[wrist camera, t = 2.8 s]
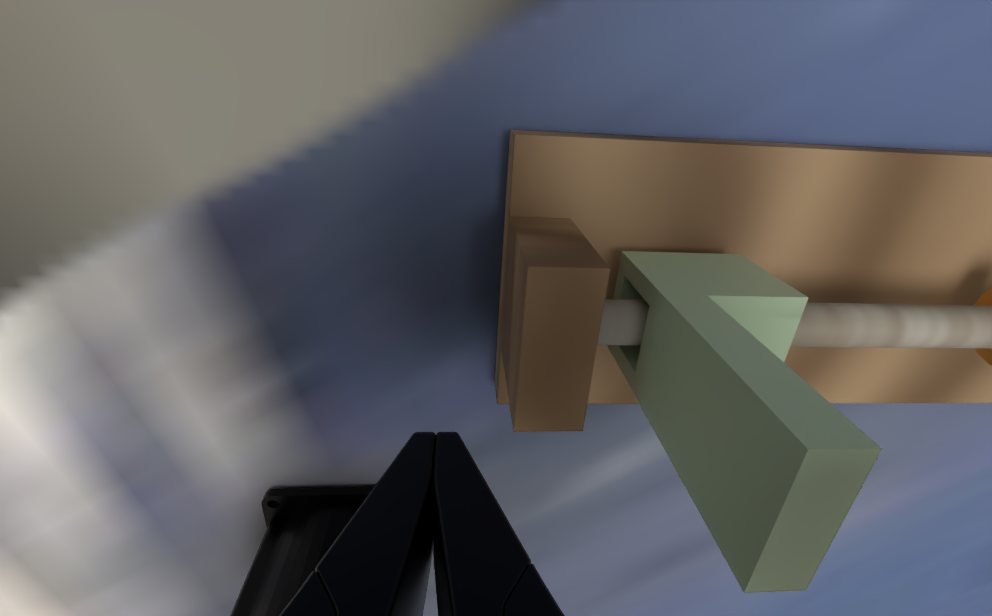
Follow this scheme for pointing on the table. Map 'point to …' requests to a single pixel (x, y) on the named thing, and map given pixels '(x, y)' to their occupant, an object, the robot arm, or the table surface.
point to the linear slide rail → (761, 239)
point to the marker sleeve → (741, 412)
